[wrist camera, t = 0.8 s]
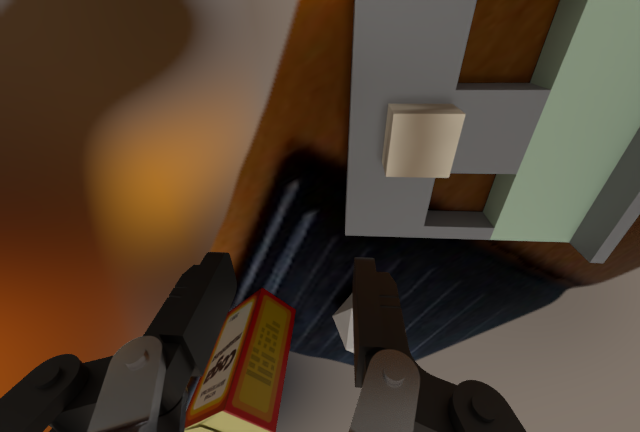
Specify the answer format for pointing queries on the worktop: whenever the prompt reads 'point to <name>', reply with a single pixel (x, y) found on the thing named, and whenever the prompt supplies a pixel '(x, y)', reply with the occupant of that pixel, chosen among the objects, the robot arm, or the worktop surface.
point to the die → (345, 323)
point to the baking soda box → (245, 369)
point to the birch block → (421, 139)
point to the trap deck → (502, 126)
